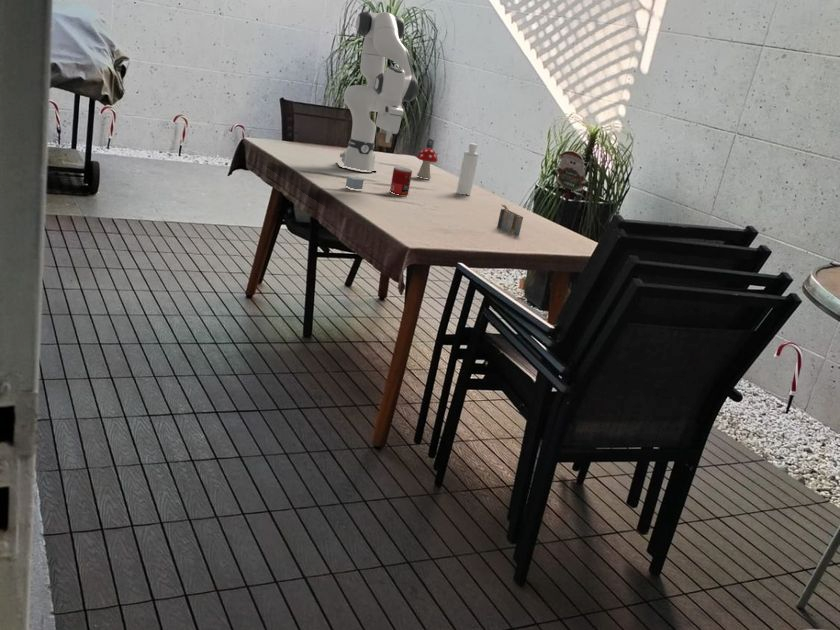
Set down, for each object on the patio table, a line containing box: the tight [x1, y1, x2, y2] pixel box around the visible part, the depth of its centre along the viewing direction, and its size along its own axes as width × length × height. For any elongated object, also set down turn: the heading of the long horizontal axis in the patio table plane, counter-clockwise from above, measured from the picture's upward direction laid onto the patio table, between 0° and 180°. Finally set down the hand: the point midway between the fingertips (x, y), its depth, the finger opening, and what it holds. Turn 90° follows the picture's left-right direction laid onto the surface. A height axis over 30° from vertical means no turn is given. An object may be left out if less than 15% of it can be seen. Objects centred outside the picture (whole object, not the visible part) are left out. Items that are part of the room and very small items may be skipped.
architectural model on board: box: [496, 204, 524, 236], centre depth 314 cm, size 11×3×10 cm, turn 30°
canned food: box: [389, 166, 413, 196], centre depth 346 cm, size 8×8×11 cm
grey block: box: [345, 176, 365, 190], centre depth 337 cm, size 5×5×5 cm
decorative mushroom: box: [416, 147, 438, 180], centre depth 398 cm, size 10×9×15 cm
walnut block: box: [375, 131, 394, 148], centre depth 338 cm, size 5×5×5 cm
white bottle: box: [456, 142, 479, 196], centre depth 374 cm, size 7×7×25 cm
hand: (384, 141), depth 338 cm, fingers closed on walnut block, 5 cm apart
